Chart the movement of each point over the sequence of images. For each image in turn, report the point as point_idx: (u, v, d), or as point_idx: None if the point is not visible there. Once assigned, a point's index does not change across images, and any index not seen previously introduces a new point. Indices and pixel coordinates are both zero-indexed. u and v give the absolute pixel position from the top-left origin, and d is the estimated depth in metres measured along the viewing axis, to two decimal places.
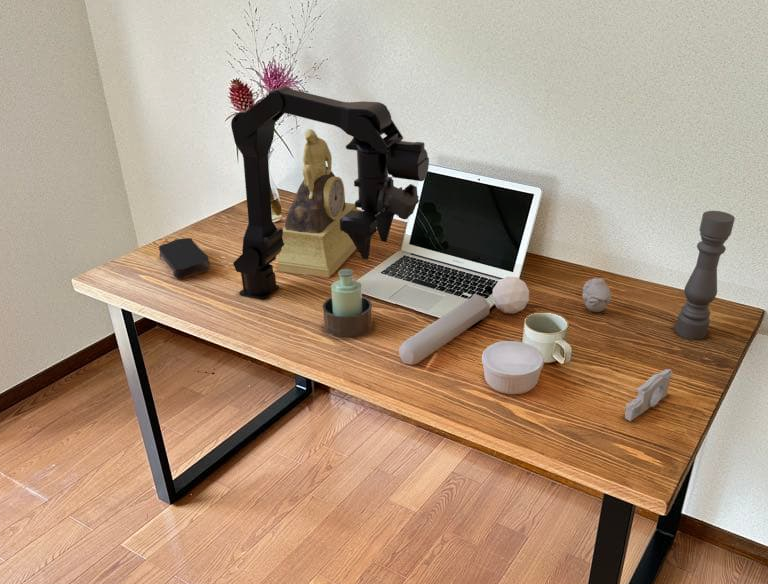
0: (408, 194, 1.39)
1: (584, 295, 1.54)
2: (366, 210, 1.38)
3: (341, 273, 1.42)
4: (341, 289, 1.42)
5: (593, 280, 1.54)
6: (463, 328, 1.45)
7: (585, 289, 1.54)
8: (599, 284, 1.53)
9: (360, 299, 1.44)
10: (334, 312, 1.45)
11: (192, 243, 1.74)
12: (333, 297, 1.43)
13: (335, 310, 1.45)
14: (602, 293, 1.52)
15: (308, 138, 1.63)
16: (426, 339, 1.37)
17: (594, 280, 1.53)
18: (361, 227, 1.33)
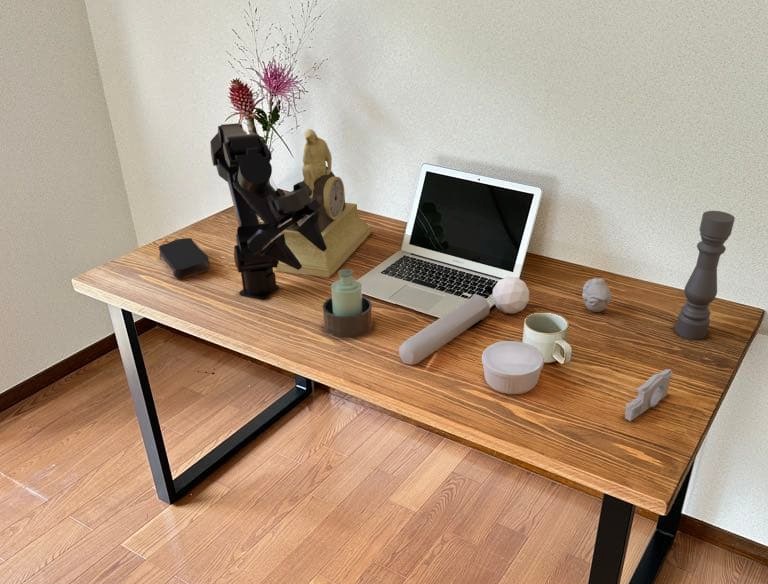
0: (296, 190, 1.40)
1: (584, 295, 1.54)
2: None
3: (341, 273, 1.42)
4: (341, 289, 1.42)
5: (593, 280, 1.54)
6: (463, 328, 1.45)
7: (585, 289, 1.54)
8: (599, 284, 1.53)
9: (360, 299, 1.44)
10: (334, 312, 1.45)
11: (192, 243, 1.74)
12: (333, 297, 1.43)
13: (335, 310, 1.45)
14: (602, 293, 1.52)
15: (308, 138, 1.63)
16: (426, 339, 1.37)
17: (594, 280, 1.53)
18: (260, 238, 1.35)
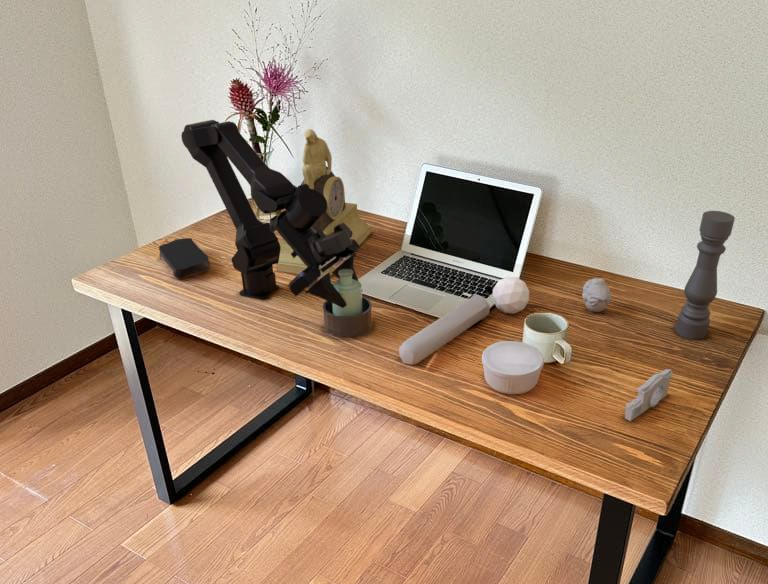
0: (337, 232, 1.41)
1: (584, 295, 1.54)
2: None
3: (341, 273, 1.42)
4: (341, 289, 1.42)
5: (593, 280, 1.54)
6: (463, 328, 1.45)
7: (585, 289, 1.54)
8: (599, 284, 1.53)
9: (360, 299, 1.44)
10: (334, 312, 1.45)
11: (192, 243, 1.74)
12: None
13: (335, 310, 1.45)
14: (602, 293, 1.52)
15: (308, 138, 1.63)
16: (426, 339, 1.37)
17: (594, 280, 1.53)
18: (303, 280, 1.36)
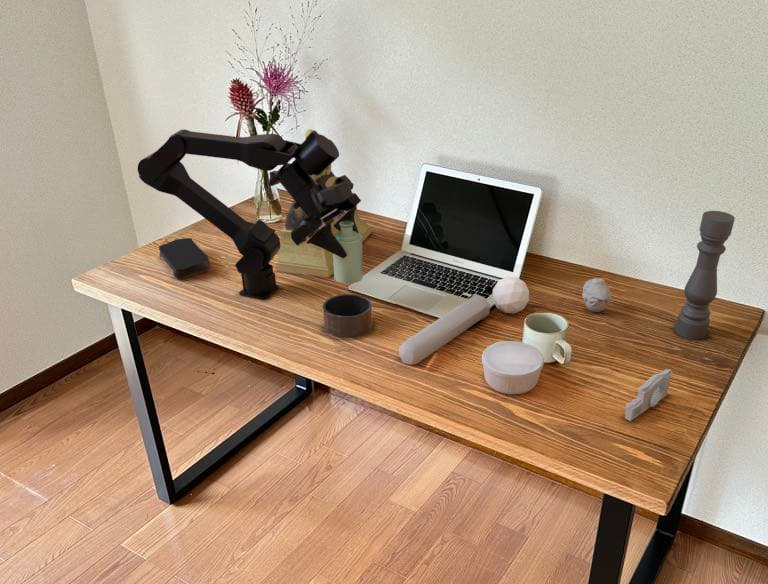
0: (338, 183, 1.44)
1: (584, 295, 1.54)
2: None
3: (342, 224, 1.45)
4: (342, 240, 1.45)
5: (593, 280, 1.54)
6: (463, 328, 1.45)
7: (585, 289, 1.54)
8: (599, 284, 1.53)
9: (360, 250, 1.48)
10: (335, 263, 1.48)
11: (192, 243, 1.74)
12: None
13: (335, 261, 1.48)
14: (602, 293, 1.52)
15: None
16: (426, 339, 1.37)
17: (594, 280, 1.53)
18: (304, 228, 1.39)
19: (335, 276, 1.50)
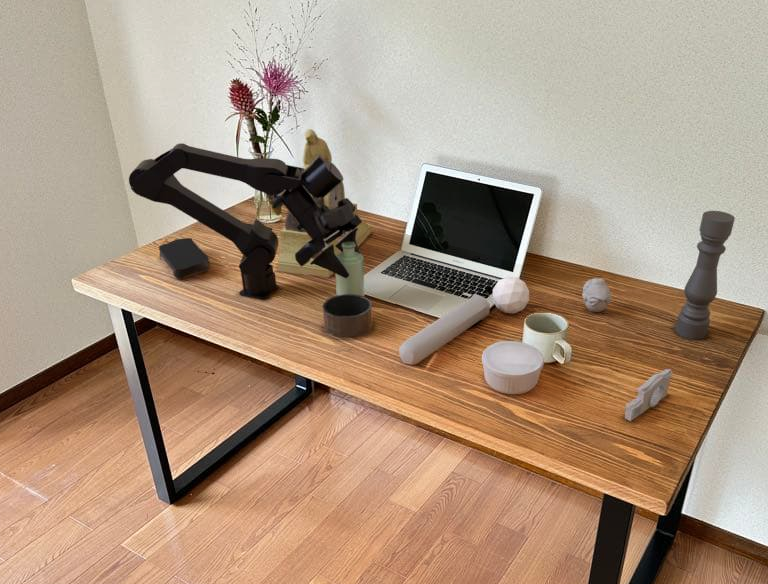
0: (341, 206, 1.49)
1: (584, 295, 1.54)
2: None
3: (344, 245, 1.50)
4: (344, 260, 1.51)
5: (593, 280, 1.54)
6: (463, 328, 1.45)
7: (585, 289, 1.54)
8: (599, 284, 1.53)
9: (362, 270, 1.53)
10: (337, 283, 1.54)
11: (192, 243, 1.74)
12: None
13: (338, 281, 1.53)
14: (602, 293, 1.52)
15: (308, 138, 1.63)
16: (426, 339, 1.37)
17: (594, 280, 1.53)
18: (308, 250, 1.44)
19: None
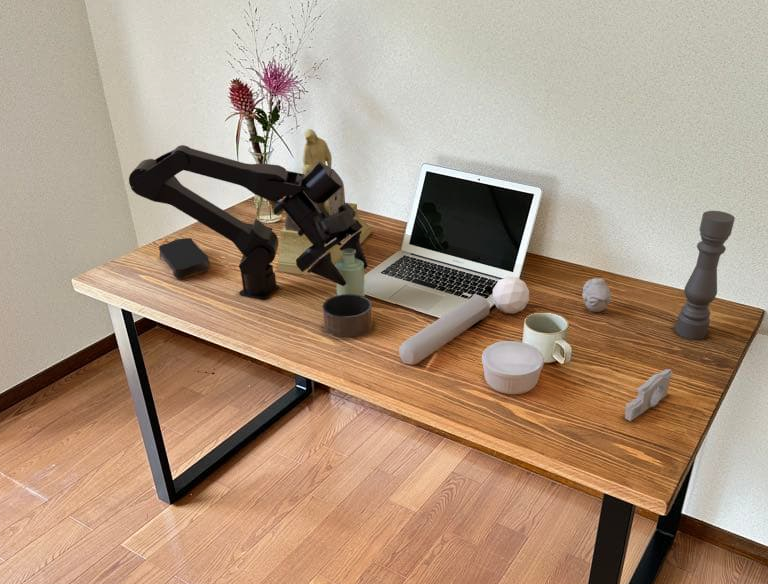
0: (341, 211, 1.50)
1: (584, 295, 1.54)
2: None
3: (344, 252, 1.51)
4: (344, 267, 1.51)
5: (593, 280, 1.54)
6: (463, 328, 1.45)
7: (585, 289, 1.54)
8: (599, 284, 1.53)
9: (362, 277, 1.54)
10: (338, 289, 1.54)
11: (192, 243, 1.74)
12: None
13: (338, 287, 1.54)
14: (602, 293, 1.52)
15: (308, 138, 1.63)
16: (426, 339, 1.37)
17: (594, 280, 1.53)
18: (309, 256, 1.45)
19: None
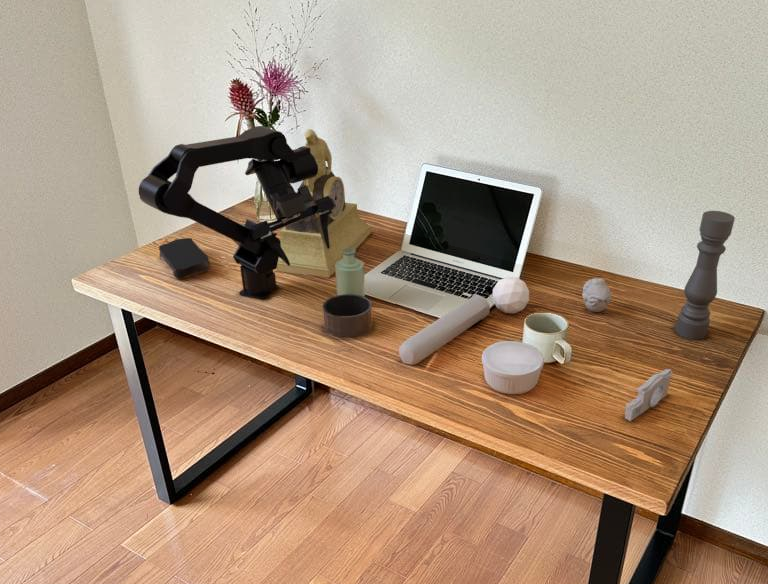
0: (296, 194, 1.47)
1: (584, 295, 1.54)
2: (275, 221, 1.52)
3: (344, 252, 1.51)
4: (344, 267, 1.51)
5: (593, 280, 1.54)
6: (463, 328, 1.45)
7: (585, 289, 1.54)
8: (599, 284, 1.53)
9: (362, 277, 1.54)
10: (338, 289, 1.54)
11: (192, 243, 1.74)
12: (337, 275, 1.53)
13: (338, 287, 1.54)
14: (602, 293, 1.52)
15: (308, 138, 1.63)
16: (426, 339, 1.37)
17: (594, 280, 1.53)
18: (251, 234, 1.49)
19: None
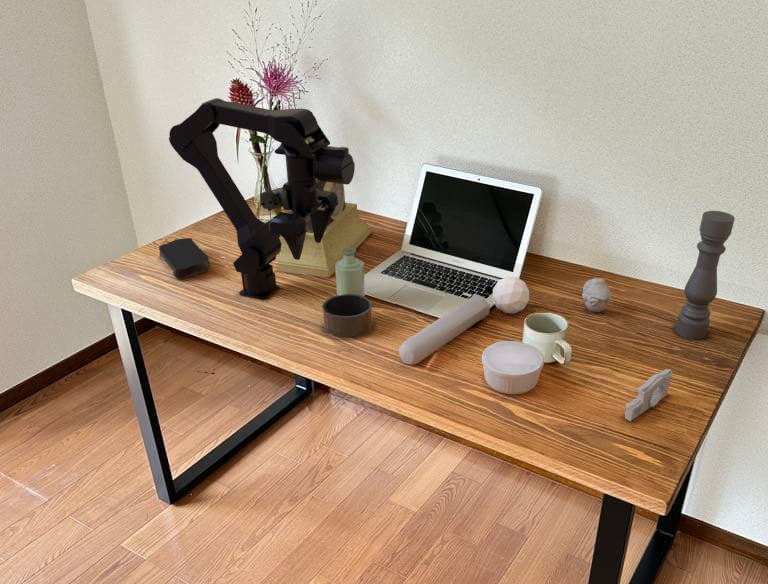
0: None
1: (584, 295, 1.54)
2: None
3: (344, 252, 1.51)
4: (344, 267, 1.51)
5: (593, 280, 1.54)
6: (463, 328, 1.45)
7: (585, 289, 1.54)
8: (599, 284, 1.53)
9: (362, 277, 1.54)
10: (338, 289, 1.54)
11: (192, 243, 1.74)
12: (337, 275, 1.53)
13: (338, 287, 1.54)
14: (602, 293, 1.52)
15: None
16: (426, 339, 1.37)
17: (594, 280, 1.53)
18: None
19: None
